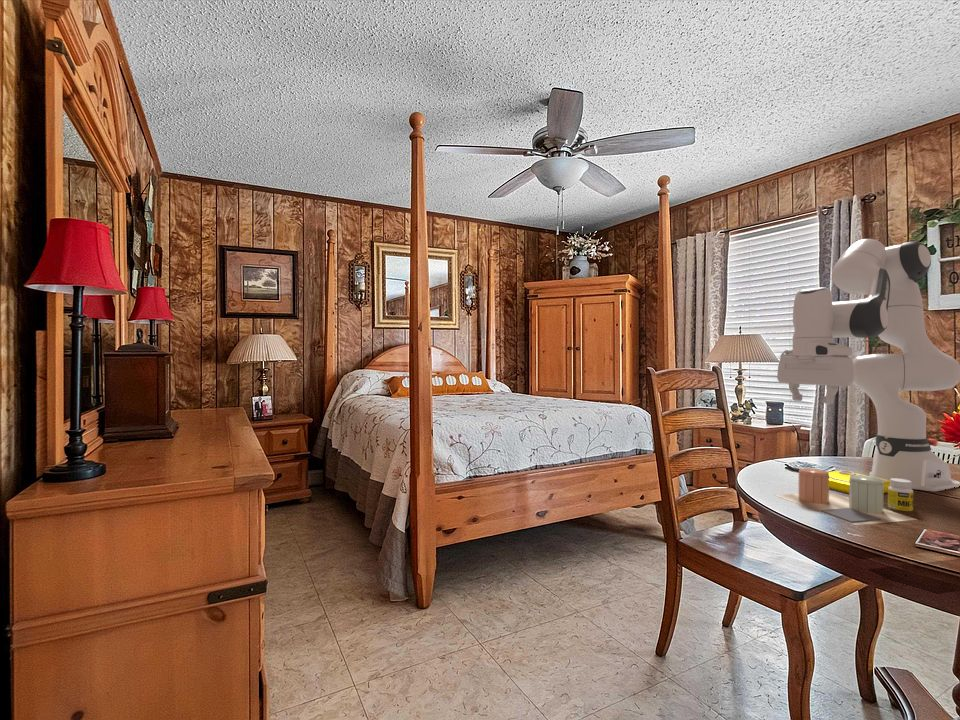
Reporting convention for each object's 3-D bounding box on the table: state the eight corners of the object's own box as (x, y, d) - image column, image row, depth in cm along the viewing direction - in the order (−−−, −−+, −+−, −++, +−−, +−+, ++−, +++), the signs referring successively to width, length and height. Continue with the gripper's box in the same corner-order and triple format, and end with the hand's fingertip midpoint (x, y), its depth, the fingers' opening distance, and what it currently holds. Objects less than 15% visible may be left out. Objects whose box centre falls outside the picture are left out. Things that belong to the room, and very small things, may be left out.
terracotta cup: (813, 495, 132) (813, 467, 131) (835, 502, 125) (835, 473, 125) (793, 497, 130) (793, 469, 130) (813, 504, 124) (813, 475, 124)
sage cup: (864, 504, 124) (864, 474, 124) (889, 512, 118) (890, 481, 117) (843, 506, 123) (843, 476, 122) (867, 514, 116) (868, 482, 116)
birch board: (828, 496, 135) (828, 491, 135) (917, 526, 113) (917, 519, 113) (775, 500, 132) (775, 495, 132) (856, 531, 109) (856, 525, 109)
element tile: (807, 489, 144) (807, 472, 144) (841, 483, 150) (841, 468, 150) (862, 503, 130) (862, 485, 130) (897, 497, 136) (898, 480, 136)
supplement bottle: (897, 517, 119) (898, 482, 118) (882, 510, 123) (883, 477, 123) (918, 517, 118) (918, 482, 118) (902, 510, 123) (902, 477, 123)
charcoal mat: (848, 509, 120) (848, 507, 120) (880, 520, 112) (880, 518, 112) (820, 511, 119) (820, 510, 119) (851, 522, 111) (851, 521, 111)
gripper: (771, 350, 138) (771, 399, 138) (837, 348, 118) (836, 405, 118) (790, 350, 139) (790, 399, 139) (858, 348, 119) (858, 405, 119)
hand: (812, 402), depth 128 cm, fingers open, 8 cm apart
